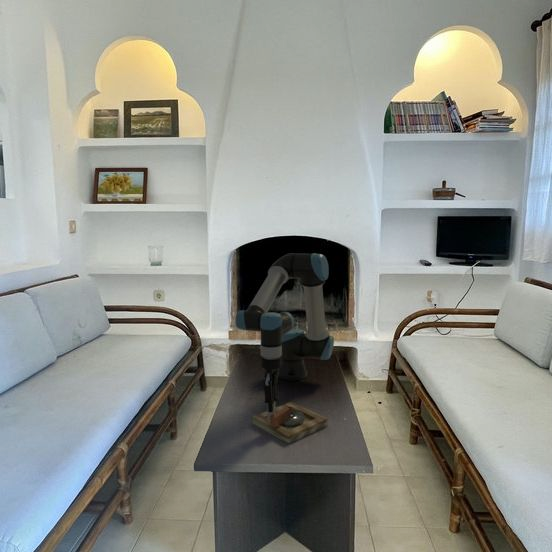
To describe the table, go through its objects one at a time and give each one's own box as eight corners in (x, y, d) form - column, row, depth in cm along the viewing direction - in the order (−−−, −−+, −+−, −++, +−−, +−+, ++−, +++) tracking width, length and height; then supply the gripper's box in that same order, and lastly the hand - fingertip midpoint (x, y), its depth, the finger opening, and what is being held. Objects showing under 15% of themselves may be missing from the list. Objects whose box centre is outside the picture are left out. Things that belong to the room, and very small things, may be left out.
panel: (291, 408, 171) (291, 401, 171) (327, 425, 156) (327, 418, 156) (252, 423, 158) (252, 415, 158) (288, 443, 143) (288, 435, 143)
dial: (286, 410, 164) (286, 398, 164) (309, 418, 158) (310, 404, 157) (260, 427, 151) (260, 413, 151) (285, 435, 145) (285, 421, 144)
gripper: (265, 350, 156) (266, 410, 159) (255, 361, 143) (256, 425, 146) (285, 351, 154) (285, 412, 157) (277, 362, 142) (277, 428, 144)
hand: (271, 418), depth 152 cm, fingers closed
